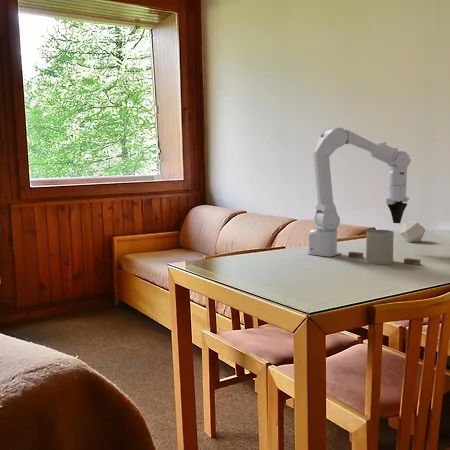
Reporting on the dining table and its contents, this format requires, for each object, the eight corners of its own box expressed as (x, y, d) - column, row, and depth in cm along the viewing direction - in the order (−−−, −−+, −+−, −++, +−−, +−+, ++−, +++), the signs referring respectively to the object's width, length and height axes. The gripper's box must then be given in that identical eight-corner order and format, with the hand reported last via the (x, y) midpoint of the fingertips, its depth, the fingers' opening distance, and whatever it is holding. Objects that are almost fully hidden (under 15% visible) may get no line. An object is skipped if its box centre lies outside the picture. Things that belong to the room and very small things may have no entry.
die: (424, 245, 199) (432, 224, 202) (404, 234, 198) (412, 213, 201) (412, 249, 207) (420, 228, 210) (393, 239, 206) (401, 218, 209)
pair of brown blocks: (348, 256, 174) (348, 252, 174) (351, 255, 176) (351, 251, 176) (417, 265, 158) (418, 260, 158) (420, 264, 160) (420, 259, 160)
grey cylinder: (396, 260, 166) (397, 230, 164) (387, 265, 159) (388, 233, 158) (371, 258, 171) (372, 229, 170) (362, 262, 164) (362, 231, 163)
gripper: (400, 186, 171) (399, 225, 173) (416, 184, 182) (415, 221, 184) (381, 185, 176) (380, 224, 178) (397, 184, 187) (396, 220, 189)
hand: (396, 223), depth 181 cm, fingers closed
